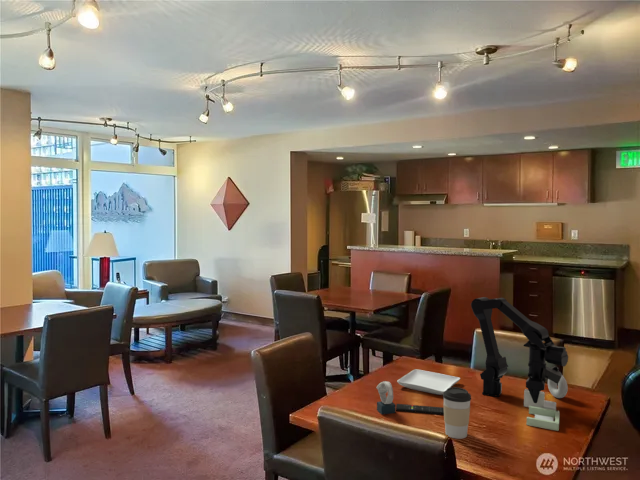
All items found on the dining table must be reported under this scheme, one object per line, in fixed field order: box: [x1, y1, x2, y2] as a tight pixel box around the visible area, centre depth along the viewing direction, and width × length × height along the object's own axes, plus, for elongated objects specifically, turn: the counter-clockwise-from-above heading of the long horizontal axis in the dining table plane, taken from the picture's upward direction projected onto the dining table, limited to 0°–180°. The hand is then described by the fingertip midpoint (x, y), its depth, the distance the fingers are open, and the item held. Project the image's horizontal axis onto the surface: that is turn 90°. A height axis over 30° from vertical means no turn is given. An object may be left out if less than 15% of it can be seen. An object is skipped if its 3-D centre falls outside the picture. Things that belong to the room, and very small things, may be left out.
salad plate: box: [396, 368, 461, 396], centre depth 209 cm, size 21×21×3 cm
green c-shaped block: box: [526, 406, 560, 432], centre depth 173 cm, size 10×12×2 cm
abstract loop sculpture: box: [376, 380, 397, 415], centre depth 181 cm, size 6×8×11 cm
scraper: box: [523, 388, 557, 410], centre depth 185 cm, size 11×7×6 cm, turn 63°
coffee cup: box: [442, 386, 472, 440], centre depth 162 cm, size 9×9×15 cm
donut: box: [547, 374, 569, 399], centre depth 196 cm, size 10×4×10 cm, turn 10°
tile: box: [534, 414, 554, 421], centre depth 173 cm, size 6×6×2 cm
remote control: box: [395, 403, 444, 416], centre depth 181 cm, size 5×24×1 cm, turn 78°
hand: (535, 400), depth 186 cm, fingers open, 5 cm apart
